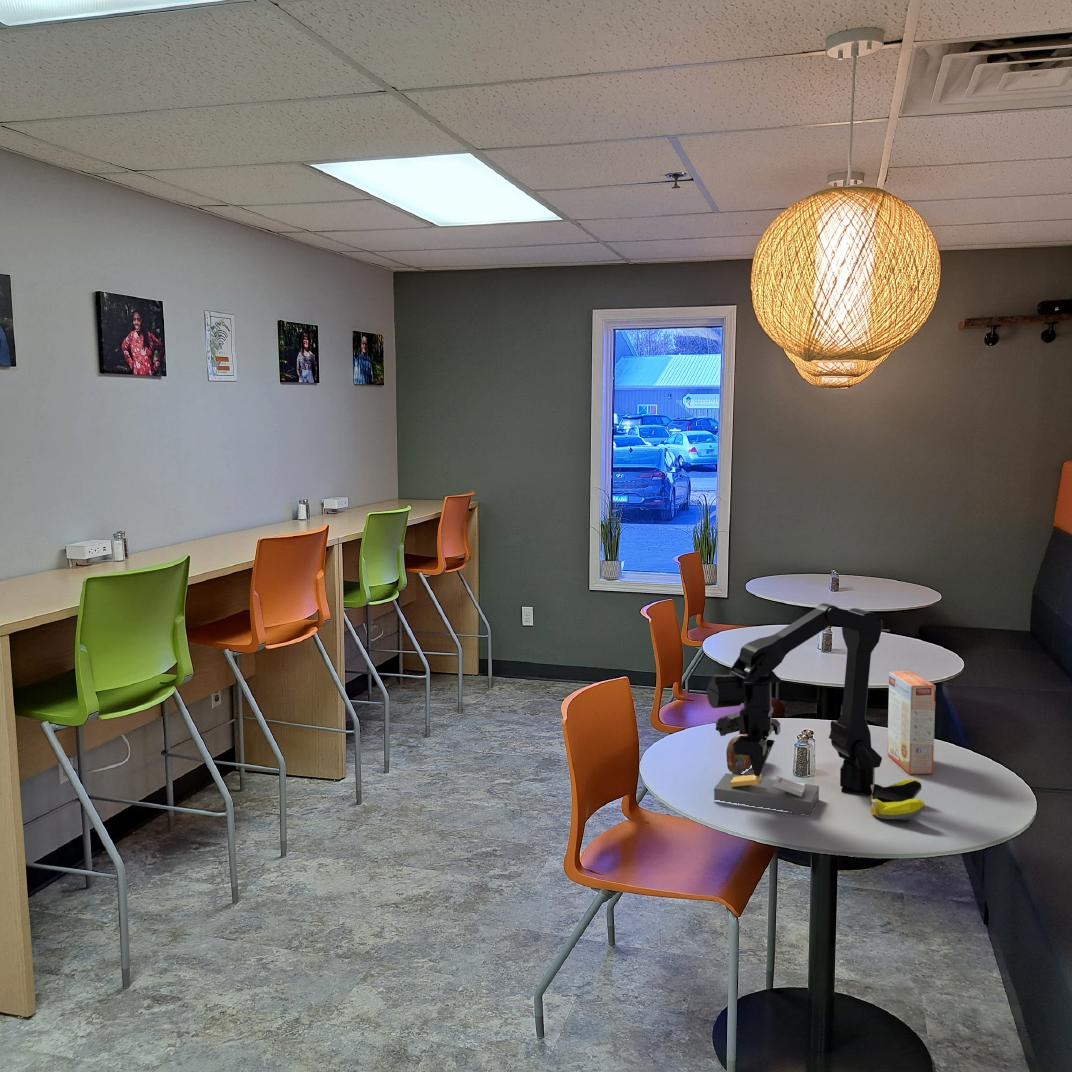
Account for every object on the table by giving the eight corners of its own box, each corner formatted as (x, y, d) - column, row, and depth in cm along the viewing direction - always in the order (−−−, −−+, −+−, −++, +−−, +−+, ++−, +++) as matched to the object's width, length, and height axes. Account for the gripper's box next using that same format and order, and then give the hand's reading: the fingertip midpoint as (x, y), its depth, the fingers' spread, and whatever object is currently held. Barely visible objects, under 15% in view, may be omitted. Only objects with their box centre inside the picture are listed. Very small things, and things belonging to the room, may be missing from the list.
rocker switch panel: (818, 799, 199) (818, 783, 199) (810, 816, 190) (810, 799, 190) (726, 786, 208) (726, 771, 207) (714, 802, 199) (714, 786, 198)
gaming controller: (920, 802, 197) (870, 797, 200) (921, 776, 196) (870, 772, 199) (925, 830, 183) (870, 824, 186) (925, 803, 182) (871, 797, 185)
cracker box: (935, 775, 212) (937, 684, 210) (908, 775, 212) (910, 685, 210) (911, 754, 226) (913, 670, 224) (886, 755, 226) (887, 670, 224)
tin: (736, 779, 212) (736, 743, 211) (723, 776, 214) (723, 741, 213) (763, 760, 224) (763, 726, 223) (751, 758, 226) (751, 724, 225)
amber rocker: (762, 778, 199) (761, 773, 199) (758, 784, 196) (757, 779, 196) (735, 781, 202) (734, 776, 202) (731, 786, 199) (729, 782, 199)
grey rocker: (804, 790, 195) (805, 786, 195) (801, 796, 192) (802, 792, 192) (776, 780, 198) (777, 775, 198) (772, 786, 195) (774, 781, 194)
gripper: (730, 689, 208) (730, 757, 210) (707, 711, 191) (708, 785, 193) (781, 694, 203) (780, 763, 205) (762, 717, 186) (762, 792, 188)
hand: (757, 775), depth 198 cm, fingers closed
